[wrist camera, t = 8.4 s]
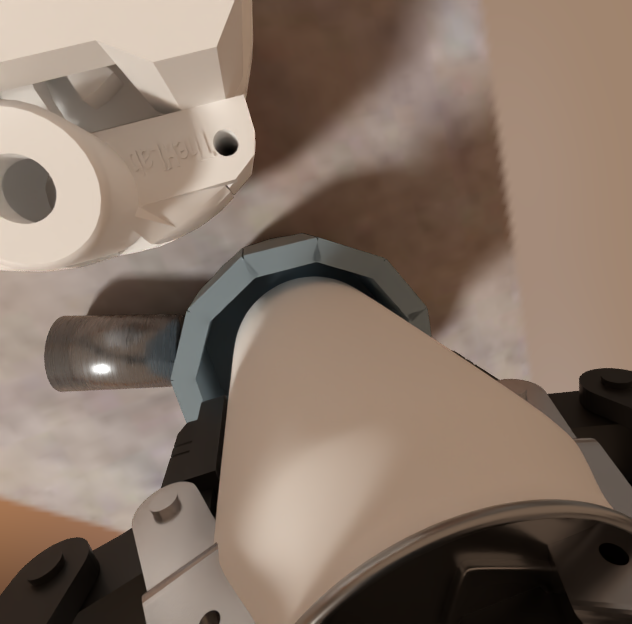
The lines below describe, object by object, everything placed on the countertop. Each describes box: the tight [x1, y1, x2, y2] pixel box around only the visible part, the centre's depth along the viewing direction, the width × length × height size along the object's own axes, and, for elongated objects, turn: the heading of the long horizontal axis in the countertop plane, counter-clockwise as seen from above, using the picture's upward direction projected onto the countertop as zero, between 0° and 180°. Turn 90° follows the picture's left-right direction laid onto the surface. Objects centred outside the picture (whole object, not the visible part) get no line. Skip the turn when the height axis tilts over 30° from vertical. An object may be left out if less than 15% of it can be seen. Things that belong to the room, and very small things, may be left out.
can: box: [214, 277, 632, 624], centre depth 10 cm, size 6×6×12 cm
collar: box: [171, 233, 432, 423], centre depth 15 cm, size 10×10×4 cm
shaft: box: [44, 314, 184, 392], centre depth 15 cm, size 4×3×3 cm
